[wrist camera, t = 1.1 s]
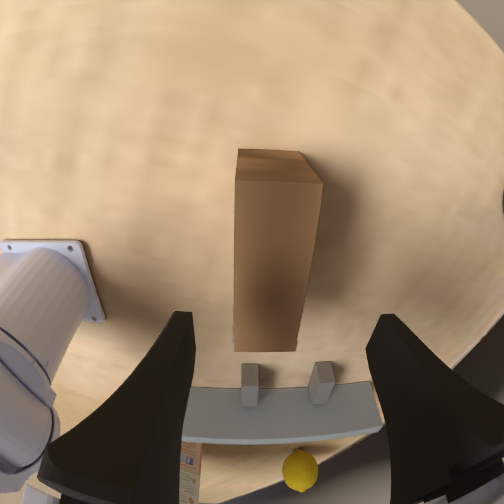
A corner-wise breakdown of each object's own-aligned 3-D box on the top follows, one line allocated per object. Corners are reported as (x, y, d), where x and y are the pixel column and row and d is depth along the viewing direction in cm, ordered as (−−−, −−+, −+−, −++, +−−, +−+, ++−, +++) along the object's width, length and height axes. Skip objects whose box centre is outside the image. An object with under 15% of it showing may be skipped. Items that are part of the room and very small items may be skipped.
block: (234, 288, 22) (232, 352, 17) (236, 148, 16) (232, 180, 11) (285, 289, 22) (295, 352, 17) (300, 151, 17) (325, 184, 11)
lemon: (275, 454, 41) (278, 495, 34) (289, 443, 38) (294, 488, 31) (305, 454, 42) (309, 494, 35) (320, 443, 39) (327, 486, 32)
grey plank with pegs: (188, 393, 29) (182, 441, 24) (180, 361, 26) (171, 415, 21) (365, 388, 30) (377, 431, 25) (382, 356, 27) (400, 404, 22)
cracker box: (169, 411, 32) (152, 566, 14) (206, 427, 34) (199, 569, 16) (118, 429, 37) (98, 545, 19) (150, 444, 39) (136, 554, 21)
